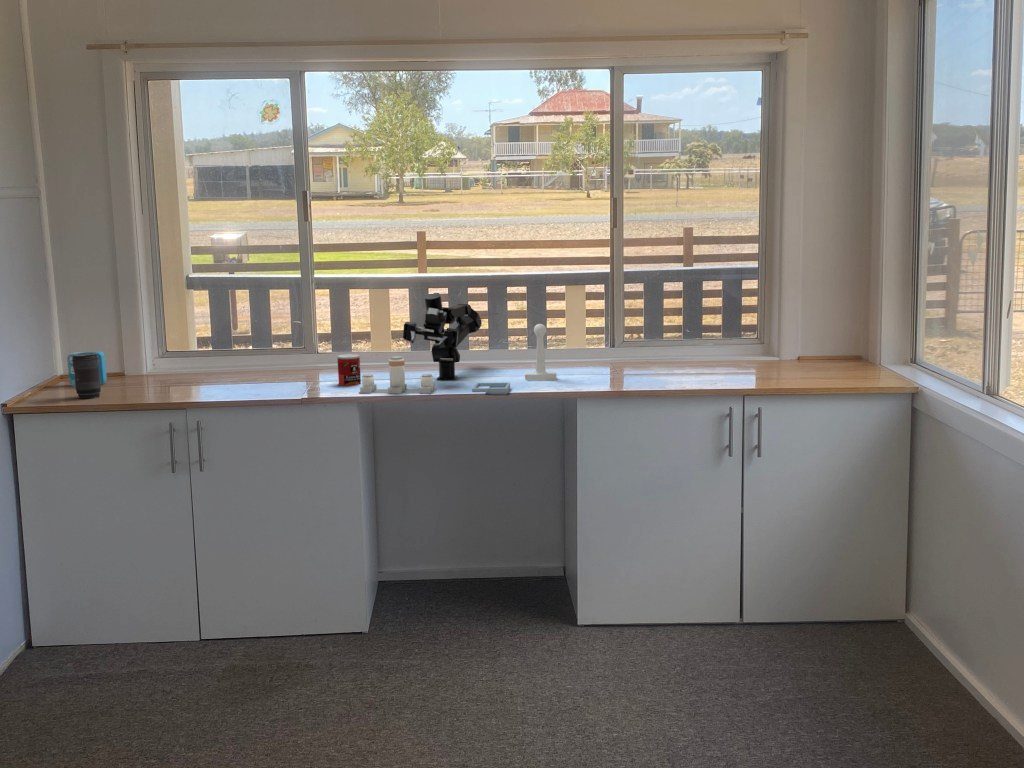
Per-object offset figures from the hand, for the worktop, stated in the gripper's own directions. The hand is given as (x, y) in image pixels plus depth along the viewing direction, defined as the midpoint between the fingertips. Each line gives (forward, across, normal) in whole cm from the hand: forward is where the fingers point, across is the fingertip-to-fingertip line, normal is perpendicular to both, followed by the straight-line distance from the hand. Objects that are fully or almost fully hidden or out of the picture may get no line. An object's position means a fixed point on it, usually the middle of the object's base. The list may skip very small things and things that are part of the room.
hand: (425, 344), depth 341 cm
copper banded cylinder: (+10, -6, +14) cm, 18 cm away
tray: (+5, +24, +11) cm, 27 cm away
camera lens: (+20, -111, +30) cm, 116 cm away
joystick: (-20, +39, +16) cm, 47 cm away
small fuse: (+10, +4, +12) cm, 16 cm away
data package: (-3, -124, +39) cm, 130 cm away
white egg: (+10, -16, +16) cm, 25 cm away
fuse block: (+10, -6, +15) cm, 19 cm away
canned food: (-3, -26, +22) cm, 34 cm away
